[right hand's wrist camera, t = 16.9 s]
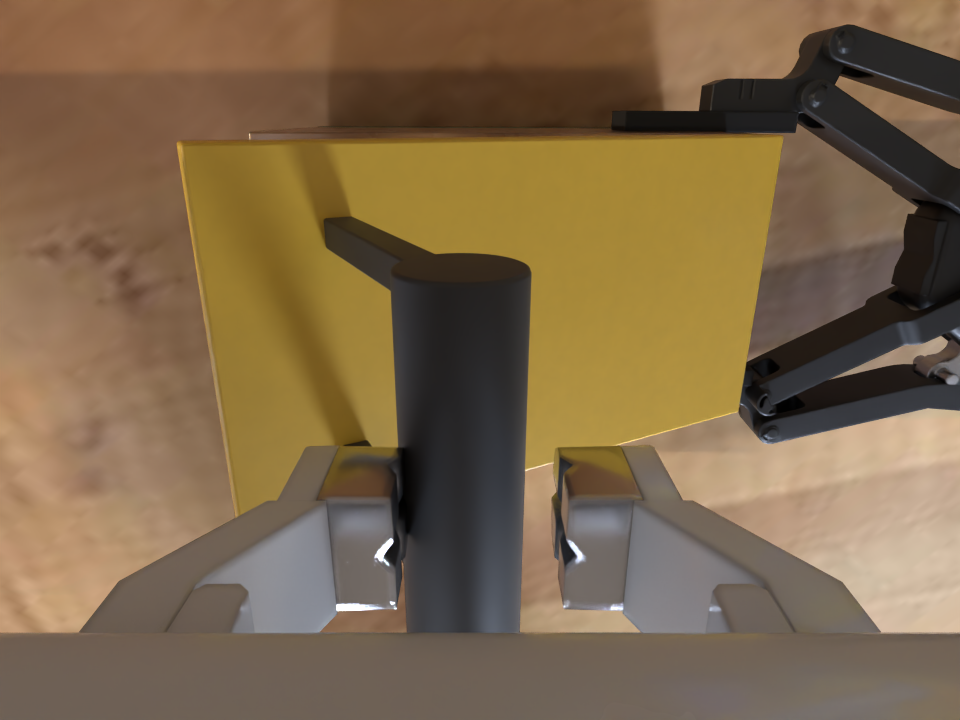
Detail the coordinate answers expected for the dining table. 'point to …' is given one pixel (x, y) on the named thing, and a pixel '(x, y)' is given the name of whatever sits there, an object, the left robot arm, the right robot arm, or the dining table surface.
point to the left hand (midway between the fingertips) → (608, 252)
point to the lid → (472, 317)
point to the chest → (447, 132)
